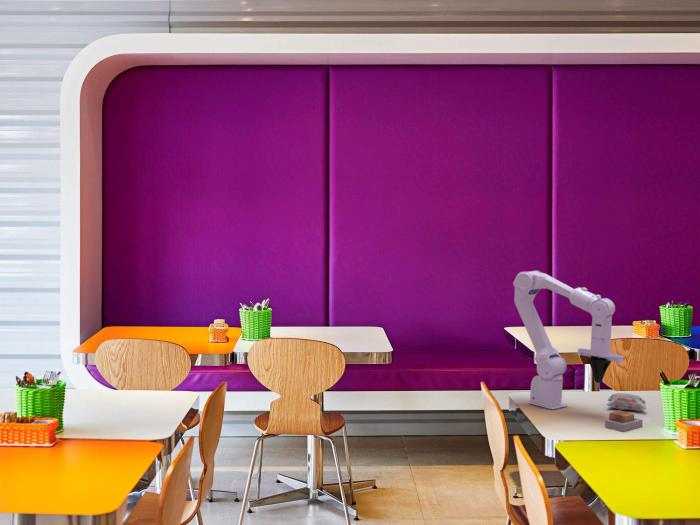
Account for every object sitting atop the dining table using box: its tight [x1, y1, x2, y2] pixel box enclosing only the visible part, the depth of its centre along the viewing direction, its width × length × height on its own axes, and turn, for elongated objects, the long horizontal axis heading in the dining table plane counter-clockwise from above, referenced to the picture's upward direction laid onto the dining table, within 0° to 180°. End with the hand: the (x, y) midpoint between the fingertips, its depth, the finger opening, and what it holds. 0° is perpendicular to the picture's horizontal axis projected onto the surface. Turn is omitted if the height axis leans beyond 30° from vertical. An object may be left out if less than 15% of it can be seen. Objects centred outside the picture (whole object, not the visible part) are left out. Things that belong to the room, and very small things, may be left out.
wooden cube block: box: [608, 409, 635, 423], centre depth 224 cm, size 5×5×4 cm
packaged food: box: [605, 392, 647, 412], centre depth 245 cm, size 9×12×5 cm
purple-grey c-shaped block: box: [604, 417, 644, 433], centre depth 224 cm, size 6×10×2 cm, turn 130°
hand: (598, 381), depth 235 cm, fingers closed
